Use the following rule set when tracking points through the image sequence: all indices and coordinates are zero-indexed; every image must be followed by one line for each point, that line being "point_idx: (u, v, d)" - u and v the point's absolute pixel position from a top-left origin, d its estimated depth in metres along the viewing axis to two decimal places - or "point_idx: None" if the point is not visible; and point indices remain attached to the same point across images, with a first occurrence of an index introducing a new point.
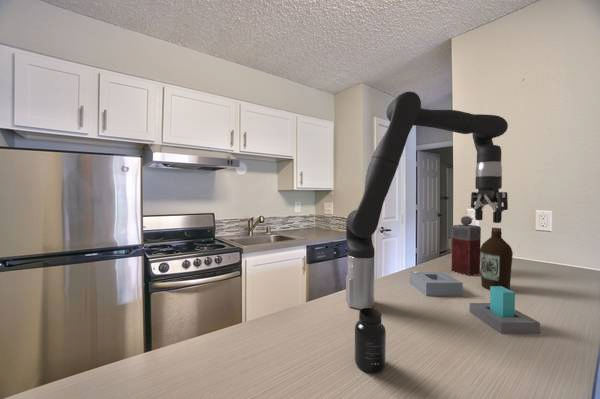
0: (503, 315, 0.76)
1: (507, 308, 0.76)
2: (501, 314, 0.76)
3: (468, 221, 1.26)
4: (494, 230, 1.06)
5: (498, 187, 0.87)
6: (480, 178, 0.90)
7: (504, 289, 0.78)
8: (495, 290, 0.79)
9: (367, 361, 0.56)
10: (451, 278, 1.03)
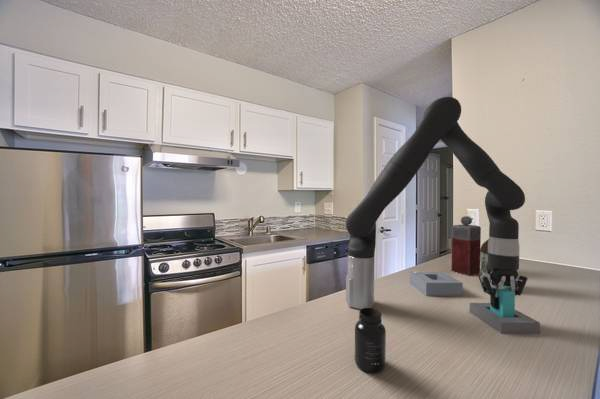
0: (503, 315, 0.76)
1: (507, 308, 0.76)
2: (501, 314, 0.76)
3: (468, 221, 1.26)
4: None
5: None
6: (516, 258, 0.74)
7: (504, 289, 0.78)
8: None
9: (367, 361, 0.56)
10: (451, 278, 1.03)
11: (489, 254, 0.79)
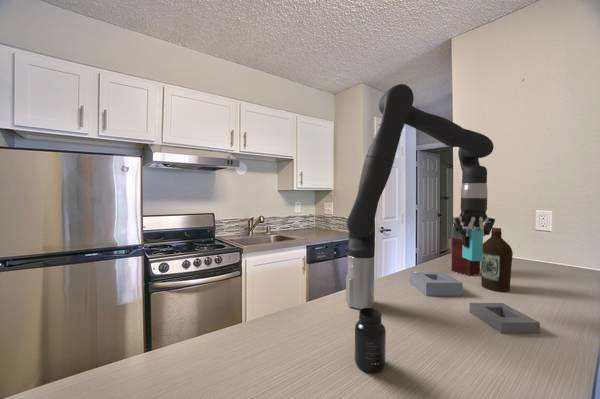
0: (472, 251, 0.85)
1: (476, 245, 0.85)
2: (471, 251, 0.86)
3: None
4: (494, 230, 1.06)
5: None
6: (484, 200, 0.84)
7: (474, 230, 0.87)
8: None
9: (367, 361, 0.56)
10: (451, 278, 1.03)
11: (461, 199, 0.88)
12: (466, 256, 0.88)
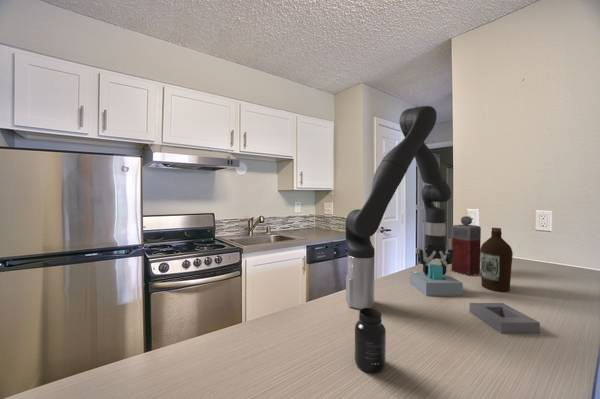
0: None
1: (437, 278, 1.03)
2: None
3: (468, 221, 1.26)
4: (494, 230, 1.06)
5: None
6: (442, 237, 1.01)
7: (436, 264, 1.05)
8: (430, 265, 1.06)
9: (367, 361, 0.56)
10: (451, 278, 1.03)
11: (425, 235, 1.05)
12: None
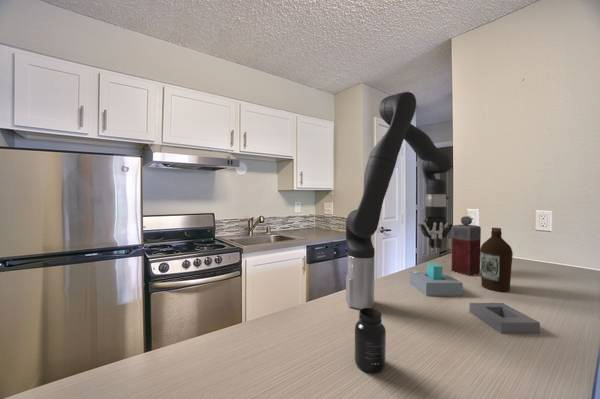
0: None
1: (436, 278, 1.03)
2: None
3: (468, 221, 1.26)
4: (494, 230, 1.06)
5: None
6: (443, 208, 1.01)
7: (436, 264, 1.05)
8: (429, 265, 1.06)
9: (367, 361, 0.56)
10: (451, 278, 1.03)
11: (425, 207, 1.05)
12: None
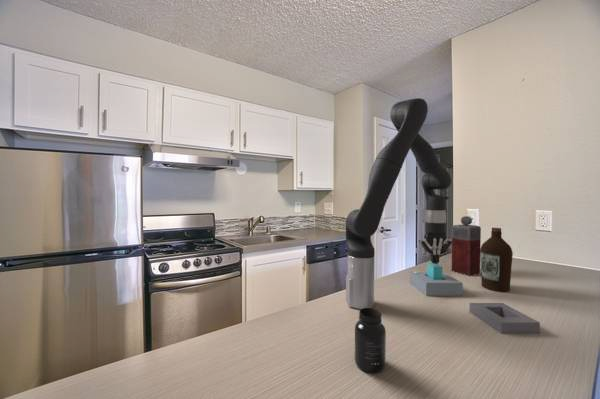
0: None
1: (436, 278, 1.03)
2: None
3: (468, 221, 1.26)
4: (494, 230, 1.06)
5: None
6: (443, 224, 1.01)
7: (436, 264, 1.05)
8: (429, 265, 1.06)
9: (367, 361, 0.56)
10: (451, 278, 1.03)
11: (425, 223, 1.05)
12: None
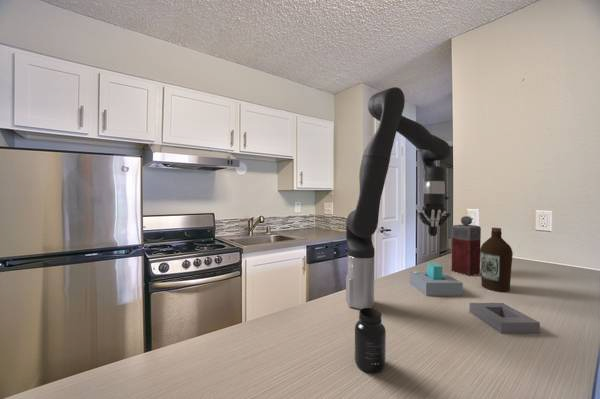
0: None
1: (436, 278, 1.03)
2: None
3: (468, 221, 1.26)
4: (494, 230, 1.06)
5: None
6: (441, 195, 1.00)
7: (436, 264, 1.05)
8: (429, 265, 1.06)
9: (367, 361, 0.56)
10: (451, 278, 1.03)
11: (424, 194, 1.04)
12: None
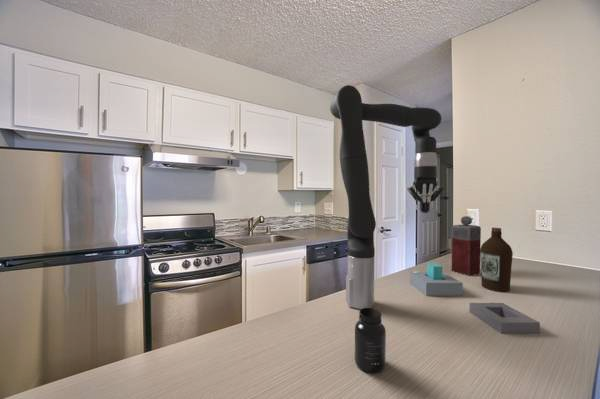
0: None
1: (436, 278, 1.03)
2: None
3: (468, 221, 1.26)
4: (494, 230, 1.06)
5: None
6: (433, 167, 0.92)
7: (436, 264, 1.05)
8: (429, 265, 1.06)
9: (367, 361, 0.56)
10: (451, 278, 1.03)
11: (414, 168, 0.96)
12: None
